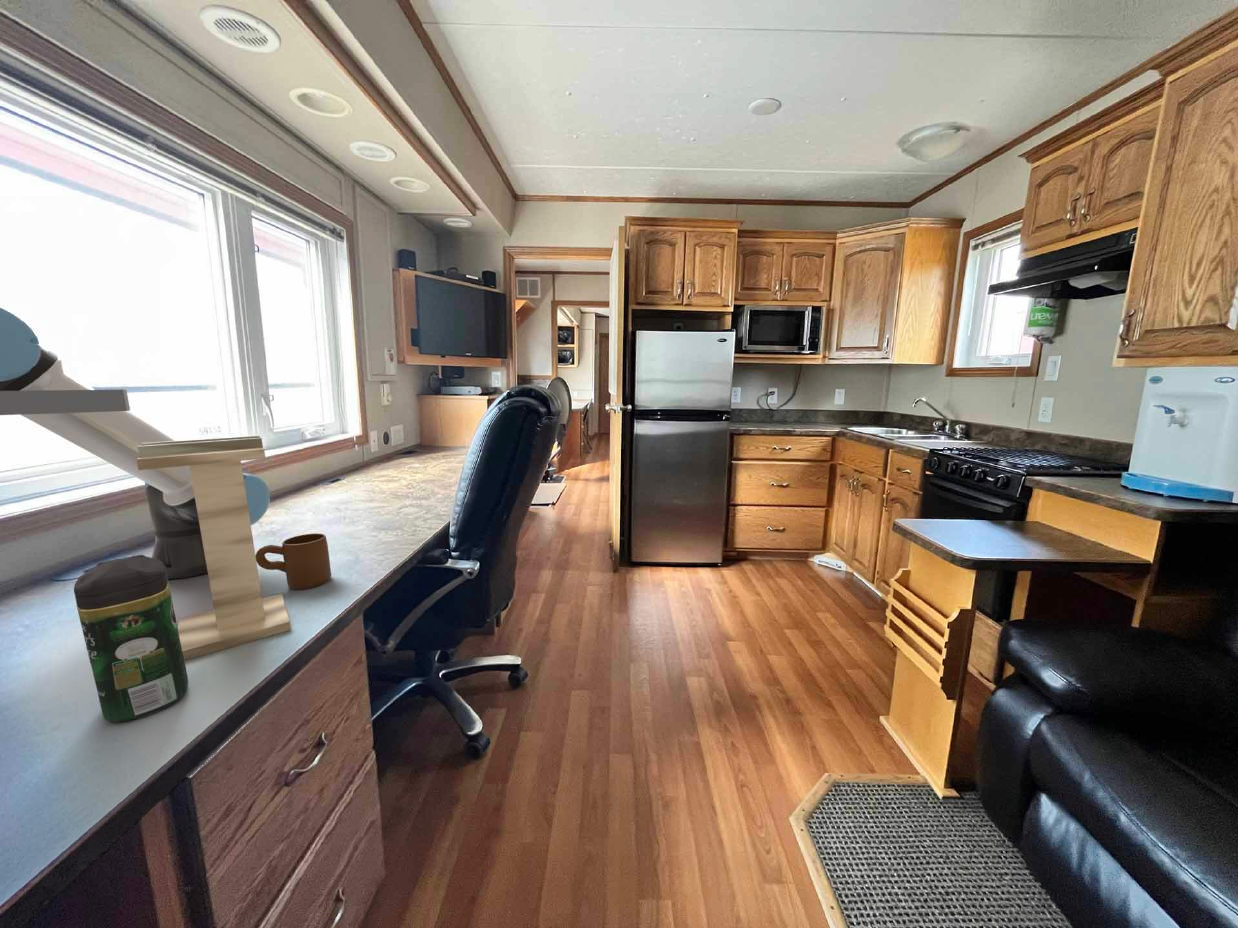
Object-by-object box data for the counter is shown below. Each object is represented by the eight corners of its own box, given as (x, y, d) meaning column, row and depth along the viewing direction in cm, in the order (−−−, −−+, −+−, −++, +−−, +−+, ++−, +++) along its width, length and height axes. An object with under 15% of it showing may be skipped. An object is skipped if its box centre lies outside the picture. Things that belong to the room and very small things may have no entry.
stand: (181, 626, 78) (146, 441, 73) (282, 601, 87) (258, 433, 82) (174, 663, 68) (133, 449, 63) (290, 629, 77) (263, 440, 71)
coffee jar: (104, 697, 60) (74, 561, 57) (187, 671, 66) (163, 545, 63) (98, 736, 54) (63, 584, 50) (191, 702, 59) (165, 564, 56)
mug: (257, 599, 88) (250, 552, 87) (263, 585, 95) (256, 540, 93) (331, 585, 94) (325, 540, 93) (332, 572, 101) (327, 530, 99)
